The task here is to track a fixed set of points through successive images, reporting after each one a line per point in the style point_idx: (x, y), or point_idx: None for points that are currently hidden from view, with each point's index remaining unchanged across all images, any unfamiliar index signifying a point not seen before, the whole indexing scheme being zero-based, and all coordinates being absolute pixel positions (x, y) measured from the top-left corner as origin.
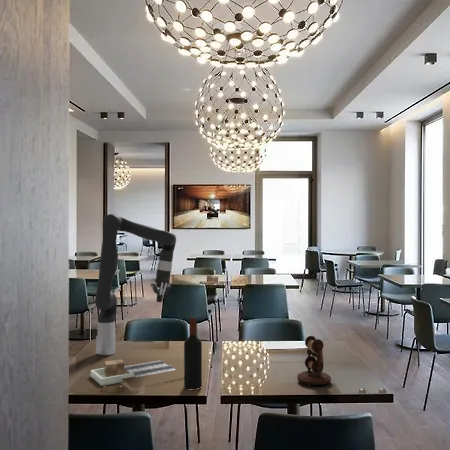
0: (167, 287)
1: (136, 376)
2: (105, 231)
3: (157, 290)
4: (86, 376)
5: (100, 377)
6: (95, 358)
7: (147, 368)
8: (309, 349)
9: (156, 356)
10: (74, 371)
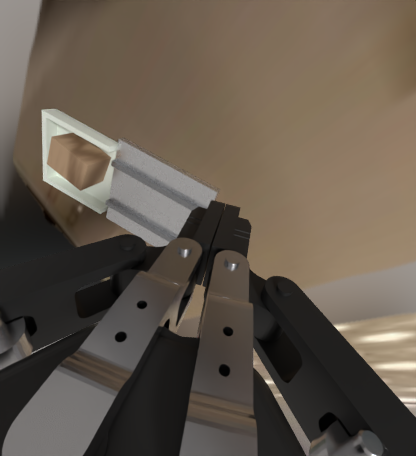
0: (323, 431)
1: (108, 215)
2: None
3: (101, 312)
4: (49, 98)
5: (44, 172)
6: None
7: (152, 205)
8: None
9: (277, 129)
10: (37, 26)
